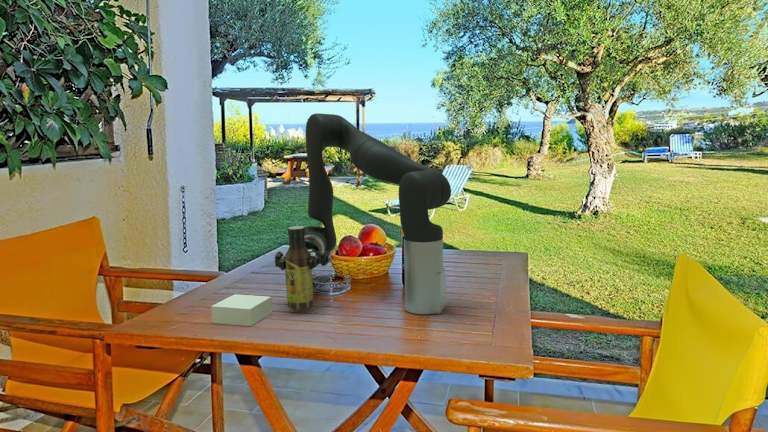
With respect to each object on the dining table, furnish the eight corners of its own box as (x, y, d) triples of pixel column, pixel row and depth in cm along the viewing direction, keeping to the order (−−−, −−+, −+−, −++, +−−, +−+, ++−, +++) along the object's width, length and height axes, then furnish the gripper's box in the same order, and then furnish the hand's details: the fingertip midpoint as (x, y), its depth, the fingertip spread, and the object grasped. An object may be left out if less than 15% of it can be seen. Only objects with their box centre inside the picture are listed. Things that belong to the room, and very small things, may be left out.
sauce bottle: (284, 306, 144) (279, 226, 141) (309, 302, 146) (304, 223, 143) (291, 313, 138) (286, 230, 135) (317, 309, 140) (312, 227, 137)
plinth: (272, 312, 141) (271, 296, 141) (250, 326, 132) (249, 309, 131) (235, 310, 144) (234, 294, 144) (212, 322, 135) (211, 306, 134)
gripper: (280, 237, 154) (265, 250, 138) (335, 236, 154) (326, 249, 137) (282, 265, 155) (267, 281, 139) (336, 264, 155) (327, 280, 138)
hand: (296, 265), depth 138 cm, fingers closed on sauce bottle, 6 cm apart
